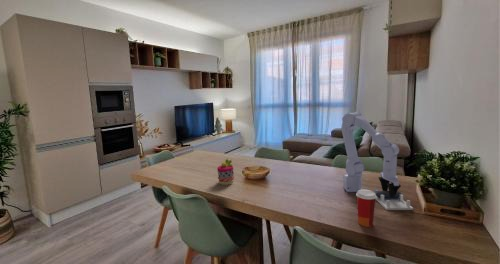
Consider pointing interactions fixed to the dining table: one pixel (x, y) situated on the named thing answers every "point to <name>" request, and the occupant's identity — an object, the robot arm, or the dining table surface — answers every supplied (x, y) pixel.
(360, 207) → the paper cup
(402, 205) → the board
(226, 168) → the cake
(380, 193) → the dark grey capsule
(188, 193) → the dining table surface
